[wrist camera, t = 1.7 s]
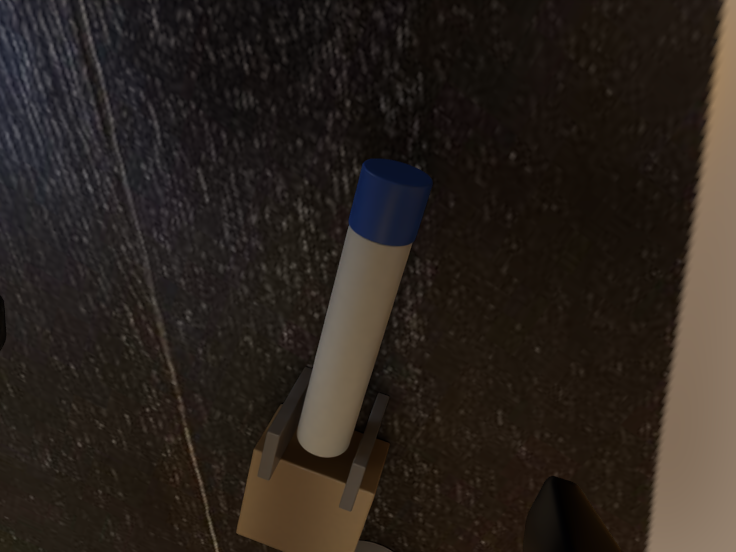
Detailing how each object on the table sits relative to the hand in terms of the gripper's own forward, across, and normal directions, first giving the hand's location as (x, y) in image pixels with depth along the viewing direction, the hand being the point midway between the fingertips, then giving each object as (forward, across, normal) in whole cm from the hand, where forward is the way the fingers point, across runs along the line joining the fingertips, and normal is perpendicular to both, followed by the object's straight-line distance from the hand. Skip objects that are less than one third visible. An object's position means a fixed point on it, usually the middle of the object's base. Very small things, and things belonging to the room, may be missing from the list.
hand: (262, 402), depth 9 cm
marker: (+11, 0, +4) cm, 11 cm away
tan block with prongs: (+12, 0, +13) cm, 18 cm away
